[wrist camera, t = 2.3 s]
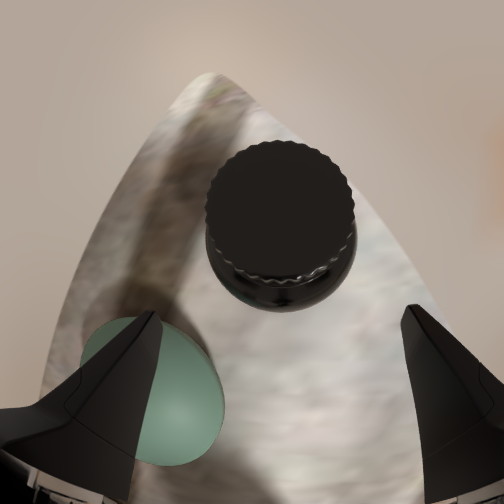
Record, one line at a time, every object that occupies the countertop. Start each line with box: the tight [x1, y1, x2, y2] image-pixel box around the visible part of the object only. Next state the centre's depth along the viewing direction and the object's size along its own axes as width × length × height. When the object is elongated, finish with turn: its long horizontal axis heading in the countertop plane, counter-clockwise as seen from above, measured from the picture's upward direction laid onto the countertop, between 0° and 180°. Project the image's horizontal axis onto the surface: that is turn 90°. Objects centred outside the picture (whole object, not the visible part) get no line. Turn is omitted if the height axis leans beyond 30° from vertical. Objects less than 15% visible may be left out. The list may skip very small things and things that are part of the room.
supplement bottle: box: [205, 140, 358, 313], centre depth 14 cm, size 7×7×12 cm
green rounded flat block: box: [80, 317, 225, 466], centre depth 18 cm, size 12×12×3 cm
